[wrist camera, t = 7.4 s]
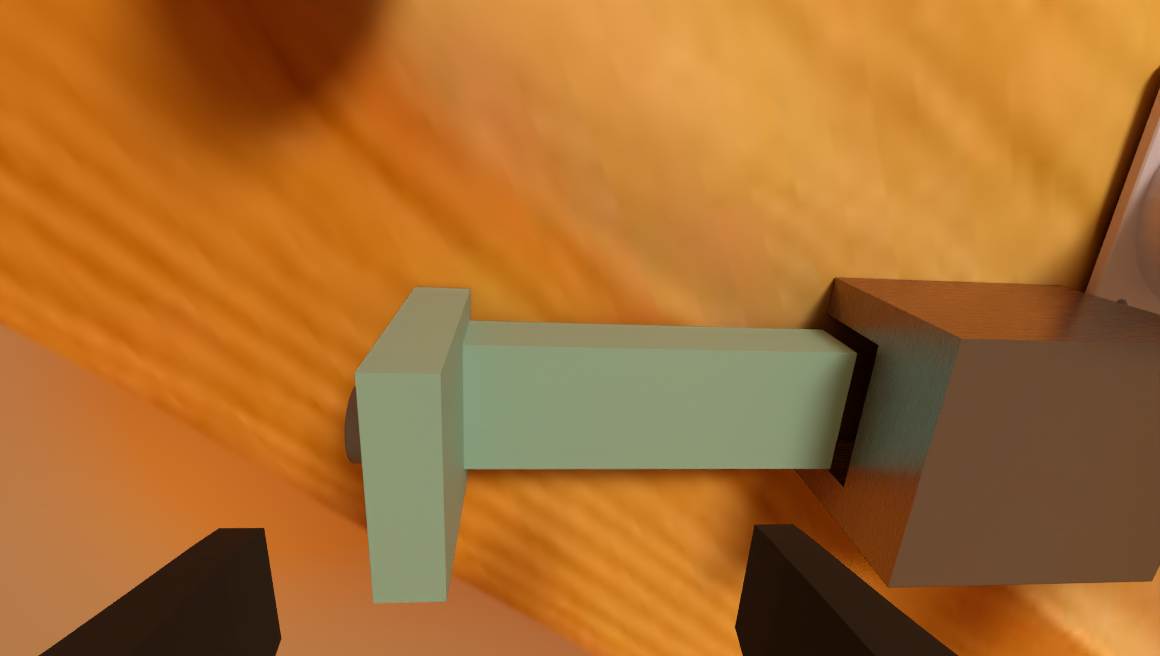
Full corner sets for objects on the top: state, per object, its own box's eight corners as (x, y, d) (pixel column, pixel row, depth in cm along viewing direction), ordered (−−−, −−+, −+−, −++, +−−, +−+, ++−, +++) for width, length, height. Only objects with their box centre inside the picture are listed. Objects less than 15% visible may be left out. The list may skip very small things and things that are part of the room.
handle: (823, 299, 18) (966, 382, 12) (791, 453, 20) (902, 590, 14) (380, 285, 16) (299, 371, 11) (390, 452, 18) (326, 604, 12)
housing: (1060, 285, 19) (1266, 346, 13) (996, 469, 21) (1151, 581, 16) (835, 277, 18) (961, 338, 13) (794, 469, 20) (888, 587, 15)
